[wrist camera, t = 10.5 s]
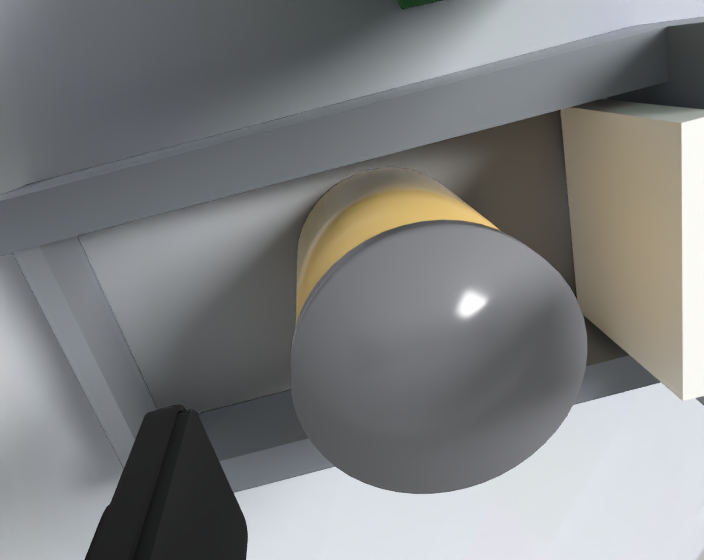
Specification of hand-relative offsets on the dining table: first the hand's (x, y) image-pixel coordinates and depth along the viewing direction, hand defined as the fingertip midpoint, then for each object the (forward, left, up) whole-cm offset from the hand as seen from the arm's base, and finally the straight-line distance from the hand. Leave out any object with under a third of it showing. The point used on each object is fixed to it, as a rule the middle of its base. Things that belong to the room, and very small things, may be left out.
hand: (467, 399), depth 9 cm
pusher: (+1, +11, -10) cm, 14 cm away
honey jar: (+1, 0, -10) cm, 10 cm away
